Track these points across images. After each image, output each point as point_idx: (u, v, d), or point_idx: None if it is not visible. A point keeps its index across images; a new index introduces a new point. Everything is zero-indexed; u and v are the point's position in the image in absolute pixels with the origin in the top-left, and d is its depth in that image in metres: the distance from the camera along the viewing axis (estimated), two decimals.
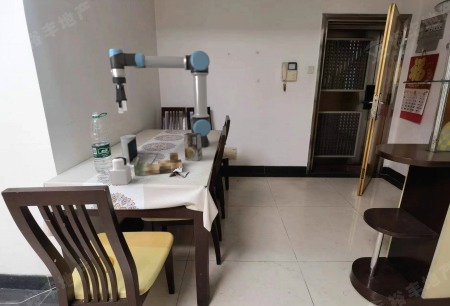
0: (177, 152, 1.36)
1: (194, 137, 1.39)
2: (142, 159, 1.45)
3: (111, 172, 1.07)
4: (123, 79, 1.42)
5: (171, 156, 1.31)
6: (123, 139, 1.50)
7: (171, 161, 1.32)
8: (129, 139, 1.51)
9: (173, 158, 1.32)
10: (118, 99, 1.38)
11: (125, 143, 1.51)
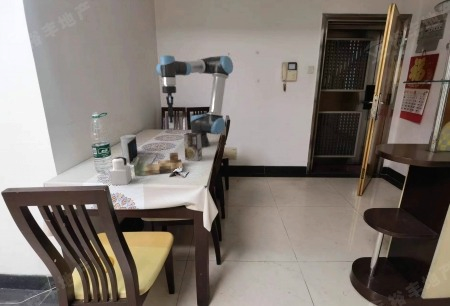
0: (177, 152, 1.36)
1: (194, 137, 1.39)
2: (142, 159, 1.45)
3: (111, 172, 1.07)
4: (174, 88, 1.29)
5: (171, 156, 1.31)
6: (123, 139, 1.50)
7: (171, 161, 1.32)
8: (129, 139, 1.51)
9: (173, 158, 1.32)
10: (170, 114, 1.32)
11: (125, 143, 1.51)
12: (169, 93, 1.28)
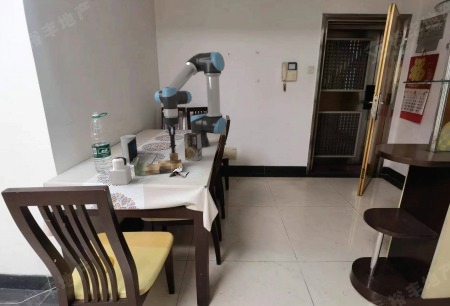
0: (177, 153, 1.35)
1: (194, 137, 1.39)
2: (142, 159, 1.45)
3: (111, 172, 1.07)
4: (176, 120, 1.28)
5: (171, 157, 1.30)
6: (123, 139, 1.50)
7: (171, 162, 1.31)
8: (129, 139, 1.51)
9: (173, 159, 1.31)
10: (172, 145, 1.30)
11: (125, 143, 1.51)
12: (171, 125, 1.27)
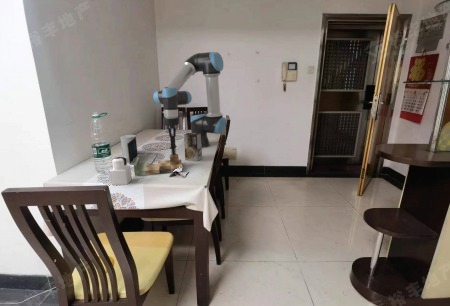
0: (177, 154, 1.33)
1: (194, 137, 1.39)
2: (142, 159, 1.45)
3: (111, 172, 1.07)
4: (176, 121, 1.26)
5: (171, 158, 1.28)
6: (123, 139, 1.50)
7: (171, 163, 1.29)
8: (129, 139, 1.51)
9: (173, 160, 1.28)
10: (173, 146, 1.28)
11: (125, 143, 1.51)
12: (171, 126, 1.25)
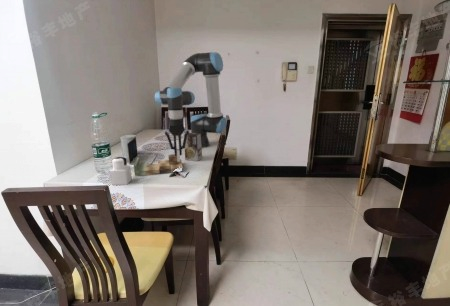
0: None
1: (194, 137, 1.39)
2: (142, 159, 1.45)
3: (111, 172, 1.07)
4: (171, 122, 1.21)
5: (170, 158, 1.28)
6: (123, 139, 1.50)
7: (170, 163, 1.28)
8: (129, 139, 1.51)
9: (172, 160, 1.28)
10: (171, 146, 1.27)
11: (125, 143, 1.51)
12: (169, 126, 1.24)
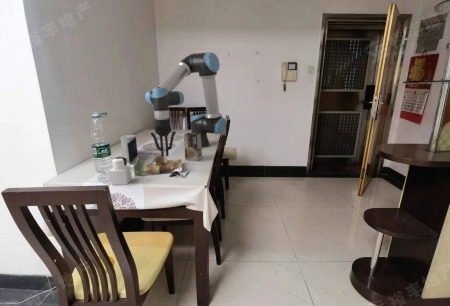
0: None
1: (194, 137, 1.39)
2: (142, 159, 1.45)
3: (111, 172, 1.07)
4: (157, 122, 1.20)
5: (157, 159, 1.26)
6: (123, 139, 1.50)
7: (157, 164, 1.27)
8: (129, 139, 1.51)
9: (159, 161, 1.27)
10: None
11: (125, 143, 1.51)
12: (155, 126, 1.23)
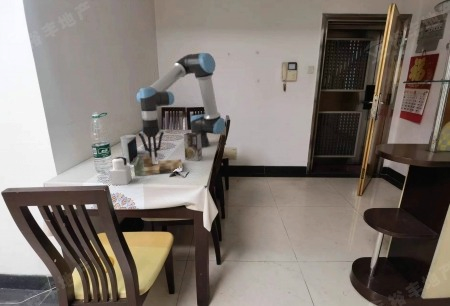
0: None
1: (194, 137, 1.39)
2: (142, 159, 1.45)
3: (111, 172, 1.07)
4: (144, 123, 1.18)
5: (145, 160, 1.25)
6: (123, 139, 1.50)
7: (145, 165, 1.25)
8: (129, 139, 1.51)
9: (147, 162, 1.25)
10: None
11: (125, 143, 1.51)
12: (143, 127, 1.21)
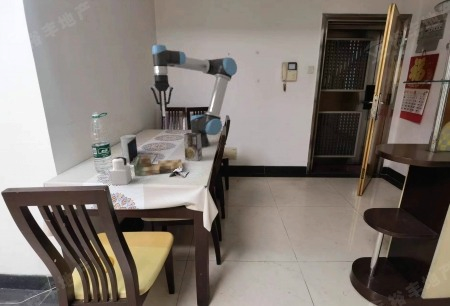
0: None
1: (194, 137, 1.39)
2: None
3: (111, 172, 1.07)
4: (156, 77, 1.32)
5: (142, 160, 1.24)
6: (123, 139, 1.50)
7: (143, 165, 1.25)
8: (129, 139, 1.51)
9: (145, 162, 1.25)
10: None
11: (125, 143, 1.51)
12: None
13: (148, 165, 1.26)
